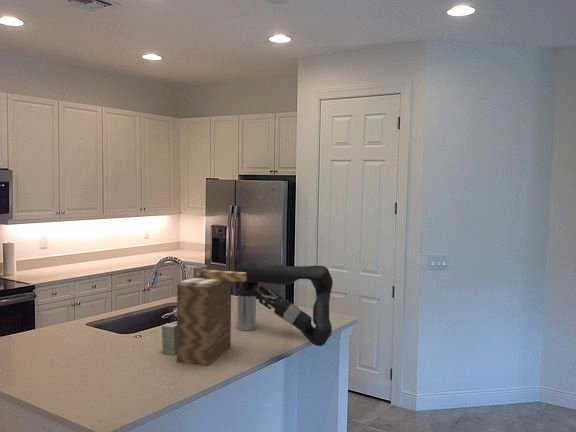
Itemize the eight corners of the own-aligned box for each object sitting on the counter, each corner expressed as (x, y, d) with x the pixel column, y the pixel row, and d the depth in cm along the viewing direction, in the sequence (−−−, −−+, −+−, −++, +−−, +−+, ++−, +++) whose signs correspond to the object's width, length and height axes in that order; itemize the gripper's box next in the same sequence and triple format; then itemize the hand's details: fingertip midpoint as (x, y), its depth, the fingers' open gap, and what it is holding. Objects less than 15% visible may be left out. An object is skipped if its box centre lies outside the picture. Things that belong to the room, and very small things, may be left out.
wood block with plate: (248, 279, 223) (248, 267, 223) (241, 283, 214) (241, 271, 214) (202, 275, 229) (202, 264, 228) (193, 279, 220) (193, 268, 220)
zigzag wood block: (230, 347, 230) (231, 274, 228) (208, 365, 207) (209, 285, 205) (201, 344, 234) (202, 272, 231) (176, 362, 211) (177, 282, 208)
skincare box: (179, 351, 223) (179, 324, 222) (174, 355, 219) (174, 327, 218) (167, 349, 225) (167, 322, 224) (161, 353, 221) (161, 325, 220)
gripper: (296, 300, 221) (265, 279, 224) (287, 308, 207) (255, 285, 210) (287, 314, 222) (257, 293, 225) (278, 323, 208) (246, 300, 211)
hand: (256, 289), depth 218 cm, fingers open, 8 cm apart
